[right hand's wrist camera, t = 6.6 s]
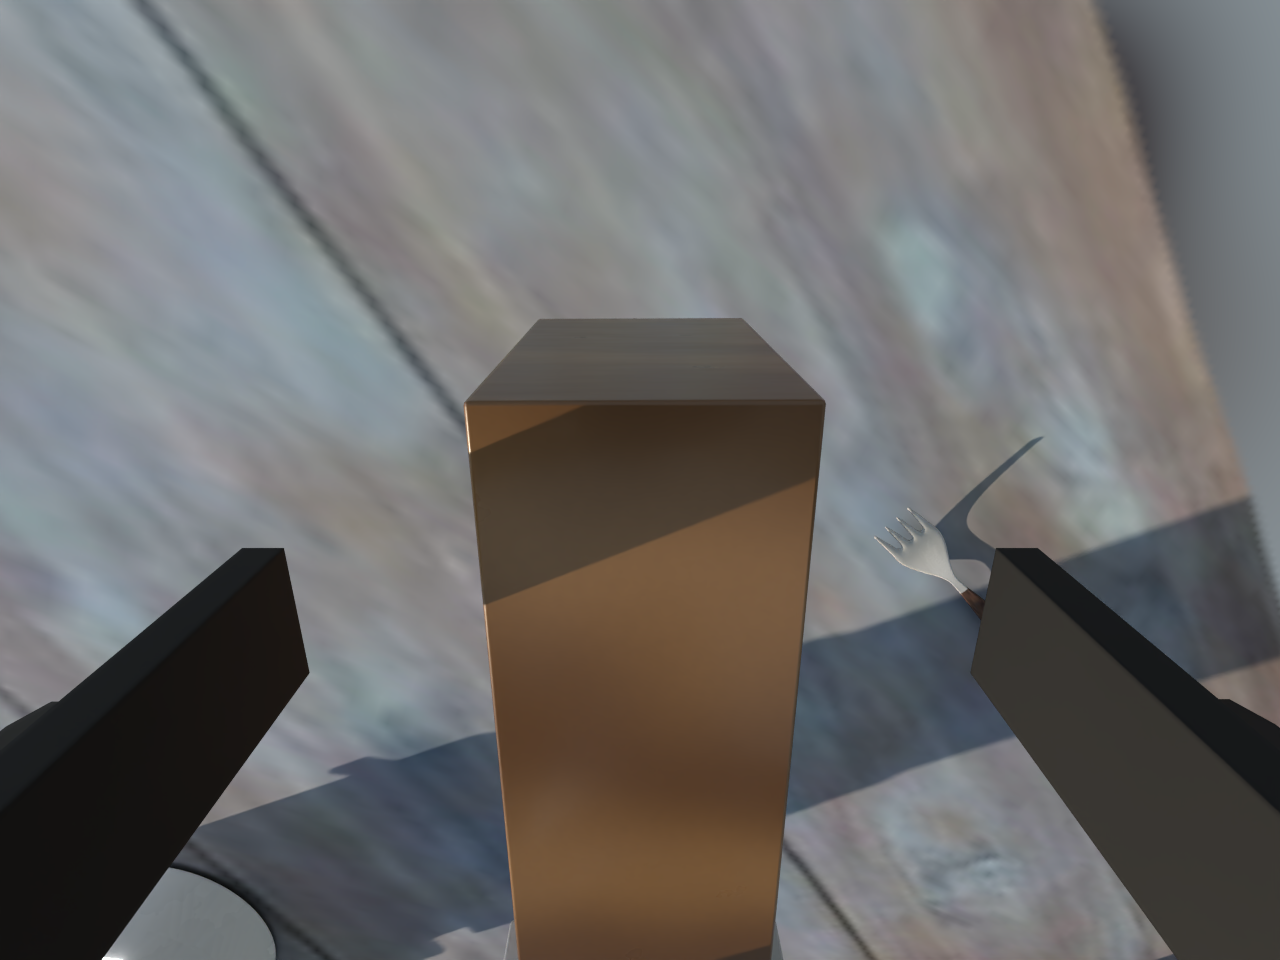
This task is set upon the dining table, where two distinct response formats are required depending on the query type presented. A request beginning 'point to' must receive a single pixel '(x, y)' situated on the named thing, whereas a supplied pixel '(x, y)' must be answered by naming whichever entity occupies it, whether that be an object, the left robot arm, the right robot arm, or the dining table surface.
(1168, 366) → the dining table surface
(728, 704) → the box
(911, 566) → the fork
